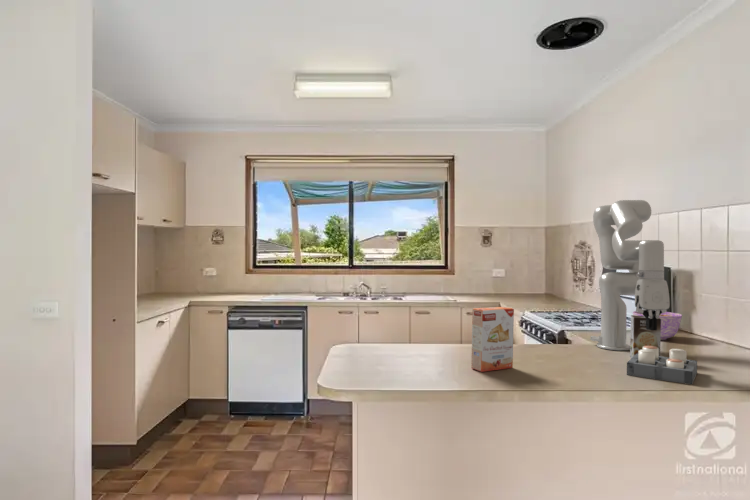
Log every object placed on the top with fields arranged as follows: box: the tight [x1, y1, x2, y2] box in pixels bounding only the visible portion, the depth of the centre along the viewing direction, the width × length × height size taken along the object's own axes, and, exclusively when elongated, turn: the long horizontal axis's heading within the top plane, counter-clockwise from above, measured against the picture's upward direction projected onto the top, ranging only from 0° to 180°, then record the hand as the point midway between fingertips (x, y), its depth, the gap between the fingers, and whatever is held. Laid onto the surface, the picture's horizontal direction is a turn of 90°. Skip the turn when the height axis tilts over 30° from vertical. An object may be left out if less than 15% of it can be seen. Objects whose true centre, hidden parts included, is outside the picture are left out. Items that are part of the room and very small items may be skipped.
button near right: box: [666, 359, 684, 369], centre depth 154 cm, size 5×5×5 cm
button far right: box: [669, 348, 687, 364], centre depth 161 cm, size 5×5×5 cm
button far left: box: [643, 346, 659, 361], centre depth 166 cm, size 5×5×5 cm
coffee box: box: [629, 314, 662, 359], centre depth 181 cm, size 9×6×16 cm
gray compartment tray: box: [626, 354, 698, 385], centre depth 160 cm, size 18×18×4 cm
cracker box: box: [471, 306, 515, 373], centre depth 166 cm, size 14×6×21 cm, turn 117°
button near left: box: [638, 349, 655, 365], centre depth 159 cm, size 5×5×5 cm
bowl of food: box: [632, 310, 683, 341], centre depth 224 cm, size 20×20×12 cm
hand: (651, 329), depth 165 cm, fingers closed
